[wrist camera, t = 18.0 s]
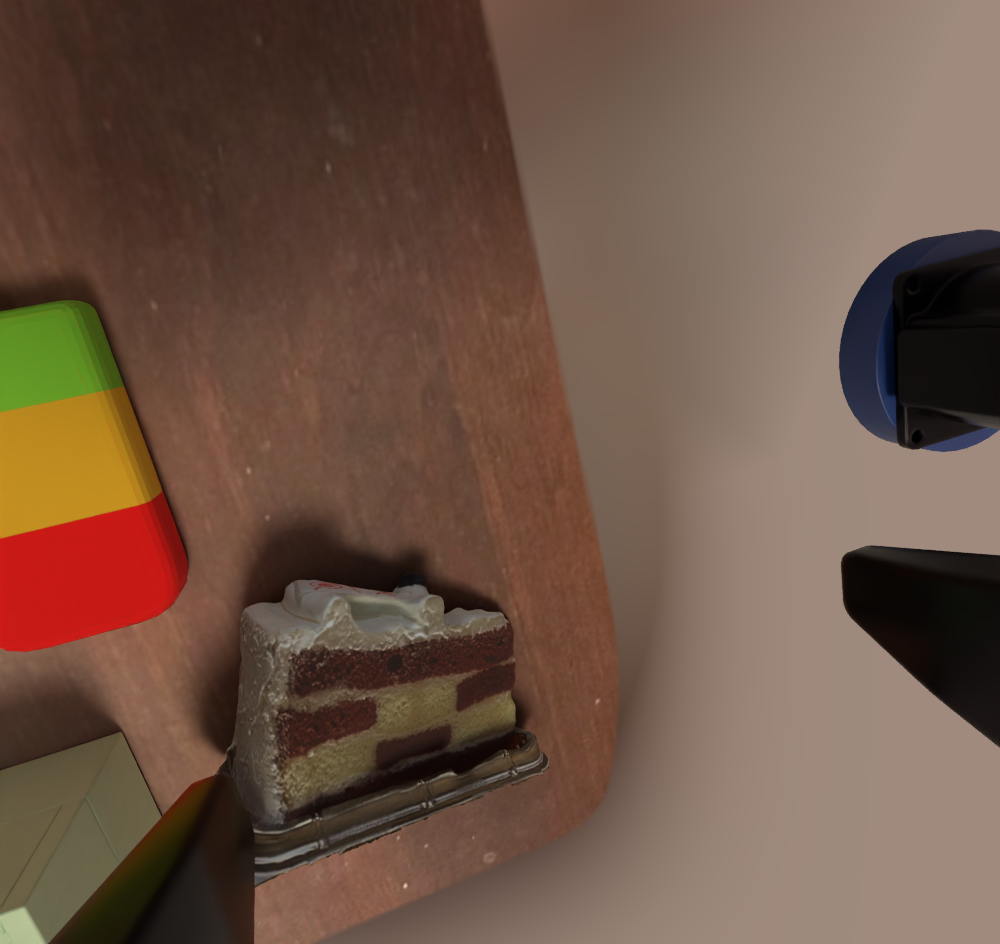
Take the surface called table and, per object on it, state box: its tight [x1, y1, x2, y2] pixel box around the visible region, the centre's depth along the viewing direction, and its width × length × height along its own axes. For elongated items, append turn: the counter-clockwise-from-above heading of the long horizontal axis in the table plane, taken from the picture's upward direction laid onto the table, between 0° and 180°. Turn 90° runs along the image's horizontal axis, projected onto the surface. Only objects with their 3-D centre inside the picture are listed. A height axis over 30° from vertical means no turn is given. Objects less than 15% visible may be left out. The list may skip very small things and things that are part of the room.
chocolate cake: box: [215, 572, 552, 887], centre depth 20 cm, size 10×7×12 cm
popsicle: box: [0, 300, 188, 652], centre depth 16 cm, size 6×15×2 cm, turn 11°
